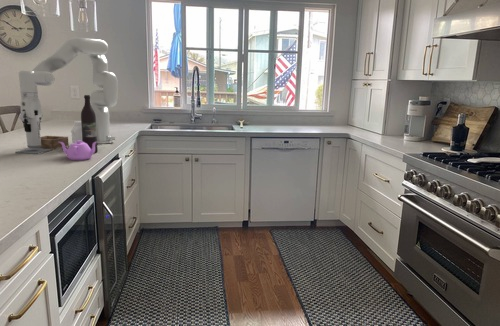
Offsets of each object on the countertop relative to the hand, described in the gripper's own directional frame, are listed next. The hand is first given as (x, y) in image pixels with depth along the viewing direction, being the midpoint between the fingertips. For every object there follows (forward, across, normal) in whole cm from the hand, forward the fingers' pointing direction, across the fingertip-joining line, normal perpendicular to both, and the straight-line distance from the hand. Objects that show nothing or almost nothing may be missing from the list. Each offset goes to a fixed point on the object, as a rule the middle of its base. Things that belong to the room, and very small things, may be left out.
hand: (32, 130), depth 188 cm
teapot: (+11, -10, -30) cm, 34 cm away
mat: (+11, 0, 0) cm, 11 cm away
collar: (+11, +15, +1) cm, 19 cm away
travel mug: (+9, 0, 0) cm, 9 cm away
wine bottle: (+11, +5, -28) cm, 31 cm away
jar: (+11, +16, -18) cm, 27 cm away
